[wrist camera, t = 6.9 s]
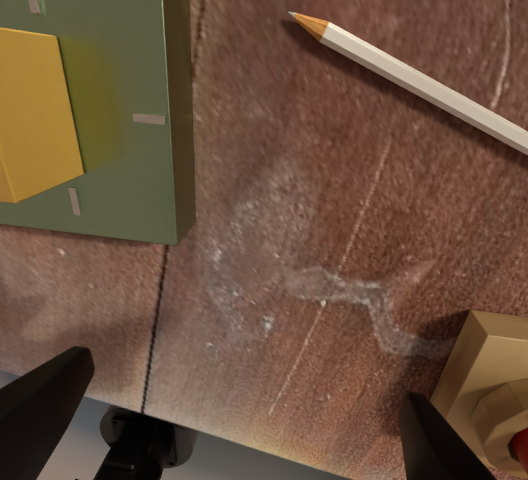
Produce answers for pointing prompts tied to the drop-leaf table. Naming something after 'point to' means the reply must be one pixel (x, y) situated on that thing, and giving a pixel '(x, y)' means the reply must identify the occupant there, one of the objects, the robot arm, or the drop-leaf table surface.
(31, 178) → the tap handle
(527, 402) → the button block
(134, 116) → the valve panel
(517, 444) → the button
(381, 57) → the pencil
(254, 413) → the drop-leaf table surface
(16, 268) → the drop-leaf table surface
